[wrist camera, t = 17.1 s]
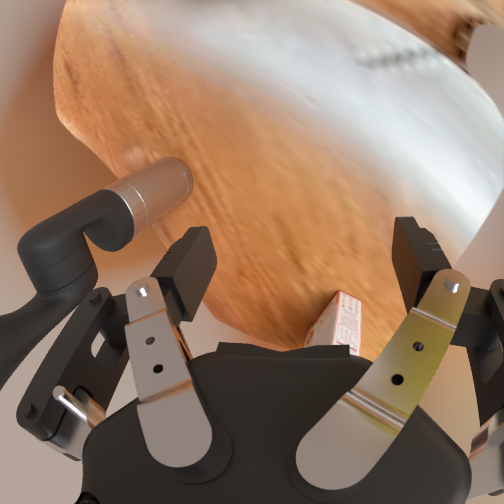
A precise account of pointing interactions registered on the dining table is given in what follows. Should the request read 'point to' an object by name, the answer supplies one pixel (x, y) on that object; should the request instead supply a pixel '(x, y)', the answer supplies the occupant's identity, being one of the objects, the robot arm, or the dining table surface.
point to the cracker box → (338, 324)
